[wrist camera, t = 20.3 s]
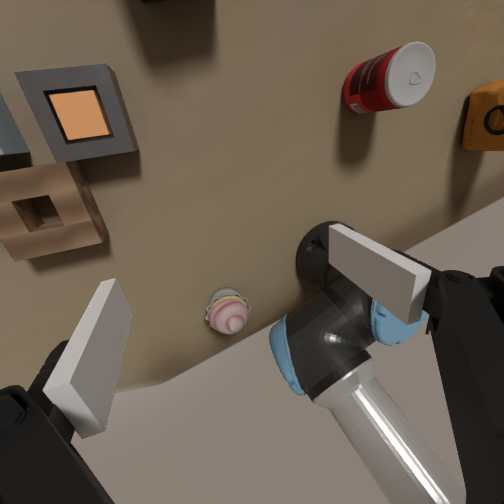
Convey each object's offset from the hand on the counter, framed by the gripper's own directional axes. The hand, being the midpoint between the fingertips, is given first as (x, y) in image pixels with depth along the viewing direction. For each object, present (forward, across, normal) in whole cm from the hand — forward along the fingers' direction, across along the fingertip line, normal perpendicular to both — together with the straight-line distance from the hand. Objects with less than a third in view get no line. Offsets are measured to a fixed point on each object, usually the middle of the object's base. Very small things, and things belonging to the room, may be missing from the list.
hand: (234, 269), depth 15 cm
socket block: (+32, -22, +1) cm, 39 cm away
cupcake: (+32, 0, -25) cm, 41 cm away
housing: (+32, -12, +12) cm, 36 cm away
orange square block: (+31, -13, +12) cm, 35 cm away
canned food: (+32, +32, +11) cm, 47 cm away
